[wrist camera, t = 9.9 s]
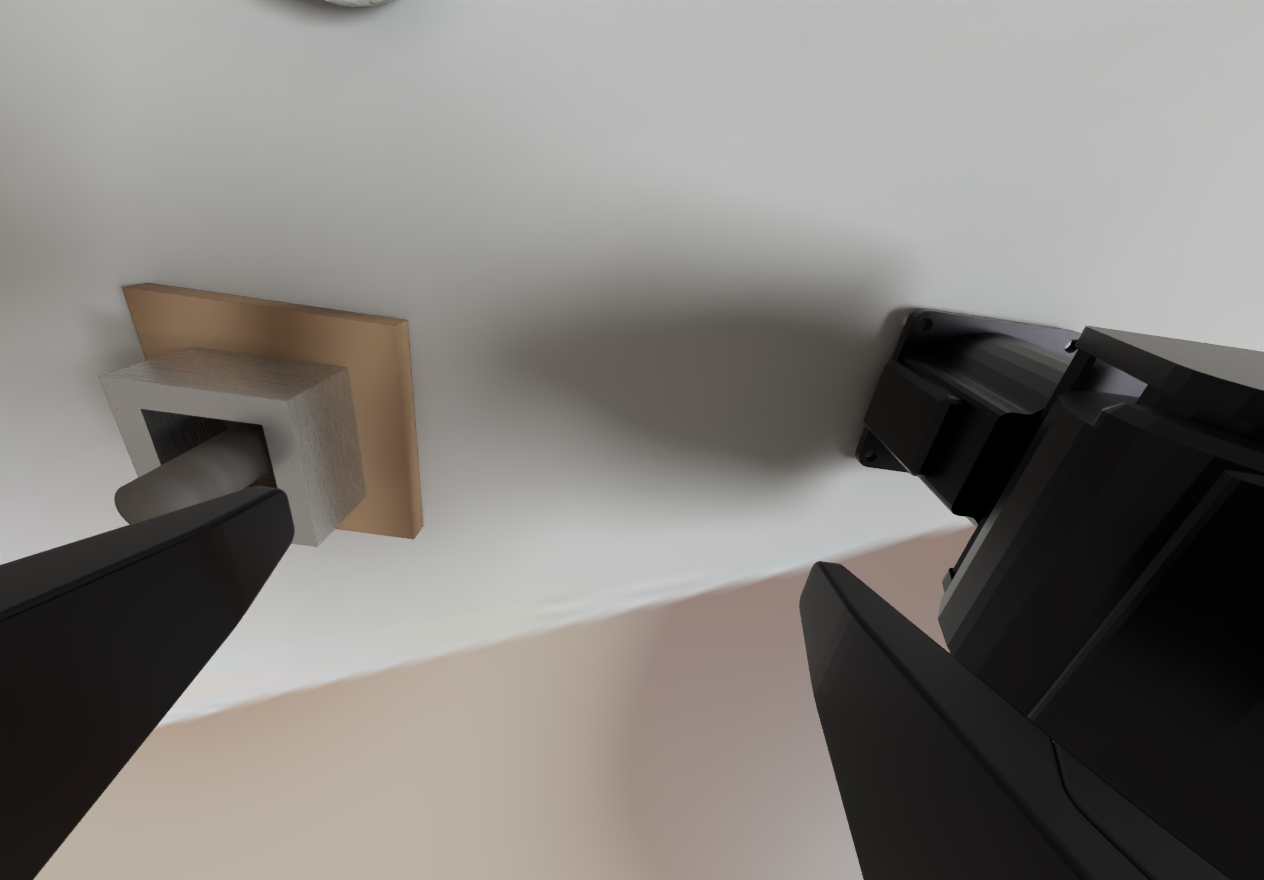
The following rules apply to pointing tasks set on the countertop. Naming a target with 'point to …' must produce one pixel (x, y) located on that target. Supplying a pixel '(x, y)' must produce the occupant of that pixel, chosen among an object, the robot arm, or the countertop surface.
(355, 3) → the ceramic mug
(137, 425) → the grey square socket
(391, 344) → the keeper
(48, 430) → the countertop surface
